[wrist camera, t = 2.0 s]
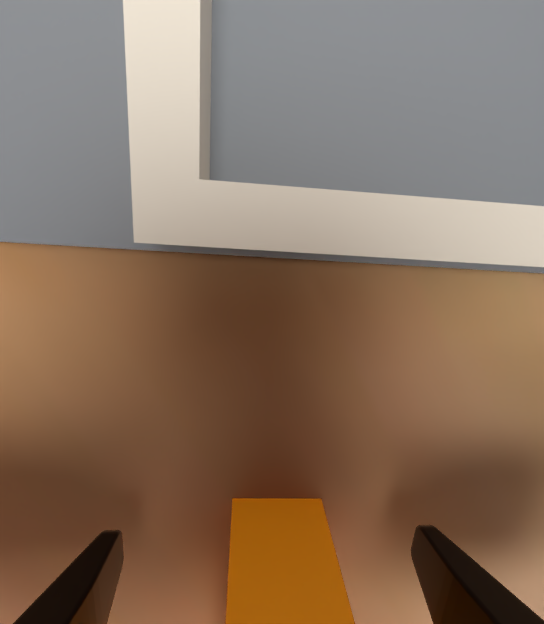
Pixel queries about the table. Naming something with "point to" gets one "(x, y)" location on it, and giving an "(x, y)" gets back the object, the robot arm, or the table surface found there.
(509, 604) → the robot arm
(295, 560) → the pipe clamp
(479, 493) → the table surface
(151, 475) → the table surface
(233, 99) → the jig board
